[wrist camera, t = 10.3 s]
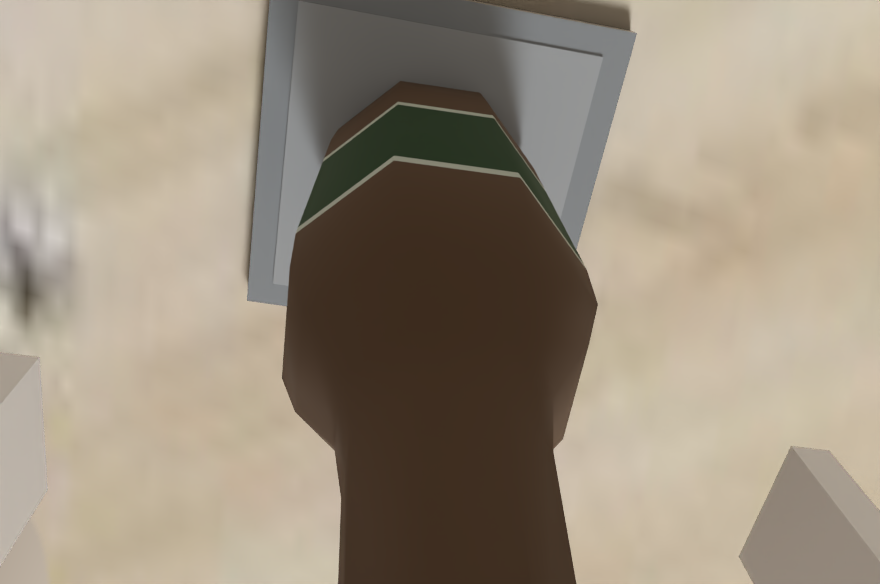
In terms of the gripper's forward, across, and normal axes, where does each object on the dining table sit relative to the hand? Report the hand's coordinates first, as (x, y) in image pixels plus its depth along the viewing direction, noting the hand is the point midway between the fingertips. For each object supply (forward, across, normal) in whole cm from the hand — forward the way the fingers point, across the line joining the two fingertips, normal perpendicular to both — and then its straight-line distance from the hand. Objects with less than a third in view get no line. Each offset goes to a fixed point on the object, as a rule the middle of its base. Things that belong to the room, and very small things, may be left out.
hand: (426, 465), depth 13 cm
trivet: (+18, +1, 0) cm, 18 cm away
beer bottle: (+17, +1, 0) cm, 17 cm away
